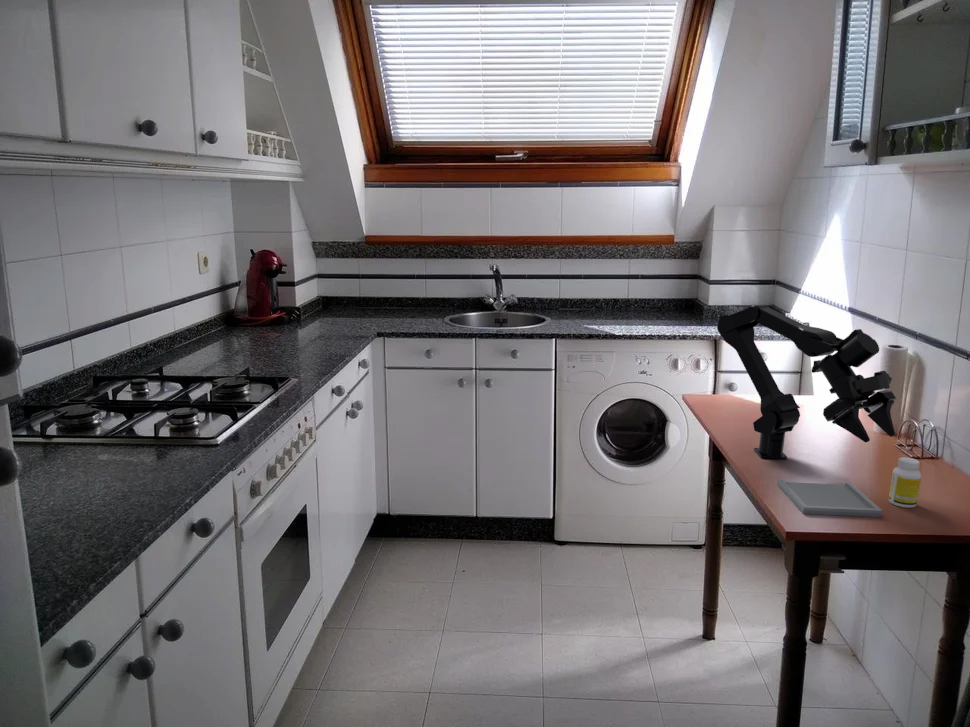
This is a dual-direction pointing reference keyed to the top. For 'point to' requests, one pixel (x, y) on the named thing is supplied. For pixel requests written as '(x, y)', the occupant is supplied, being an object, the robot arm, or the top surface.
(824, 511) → the gray tray
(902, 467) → the supplement bottle
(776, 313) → the robot arm
